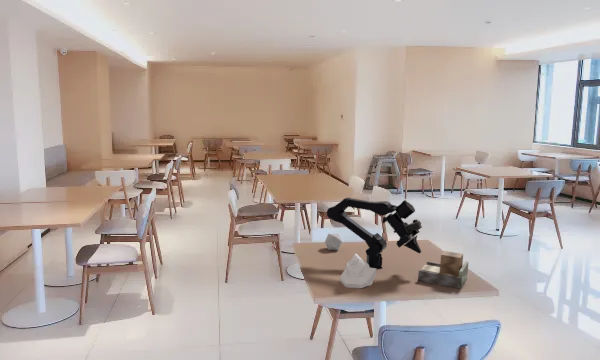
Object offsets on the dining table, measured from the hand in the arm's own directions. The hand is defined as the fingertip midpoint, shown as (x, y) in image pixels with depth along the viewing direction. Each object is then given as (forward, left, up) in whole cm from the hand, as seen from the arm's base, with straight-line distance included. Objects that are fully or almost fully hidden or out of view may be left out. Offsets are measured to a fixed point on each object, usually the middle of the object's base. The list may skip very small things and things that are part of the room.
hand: (420, 252), depth 217 cm
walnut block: (+11, -9, -6) cm, 15 cm away
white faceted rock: (-32, -9, -11) cm, 35 cm away
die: (-29, +43, -11) cm, 53 cm away
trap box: (+8, -7, -10) cm, 15 cm away
